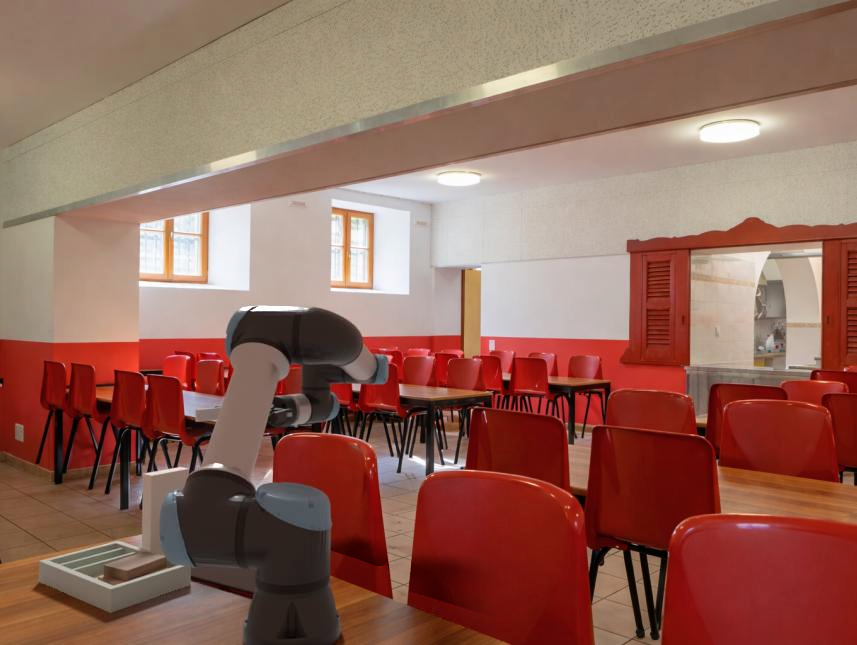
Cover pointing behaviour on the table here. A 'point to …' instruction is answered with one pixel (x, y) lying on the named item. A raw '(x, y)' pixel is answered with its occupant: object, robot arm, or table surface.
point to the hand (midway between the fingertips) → (216, 418)
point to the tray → (84, 567)
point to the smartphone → (226, 579)
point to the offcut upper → (135, 566)
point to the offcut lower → (115, 581)
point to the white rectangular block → (158, 502)
